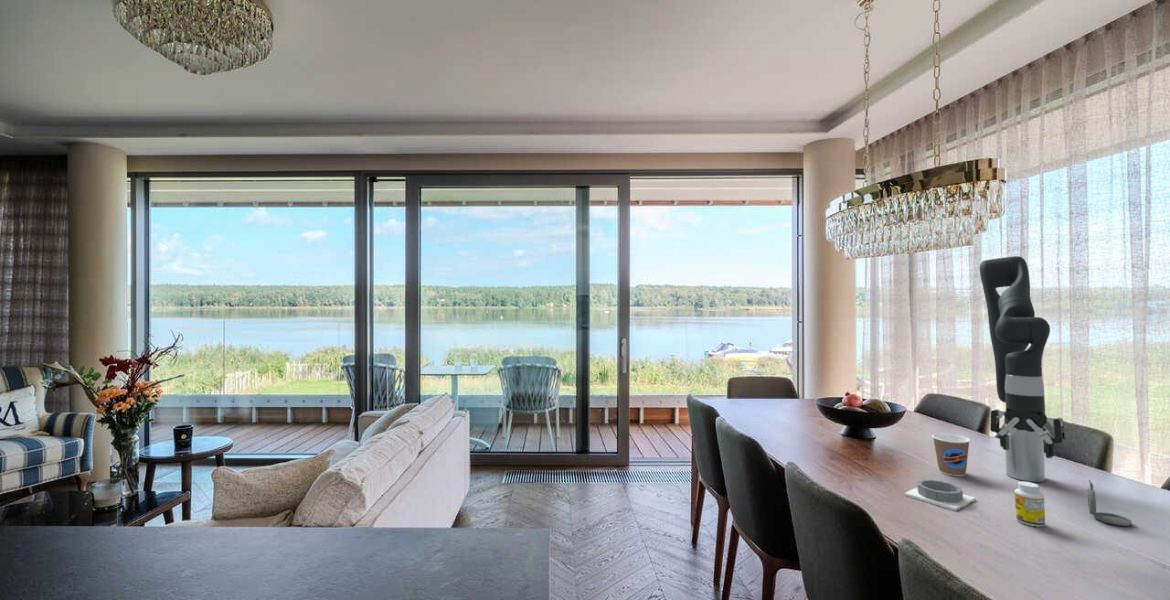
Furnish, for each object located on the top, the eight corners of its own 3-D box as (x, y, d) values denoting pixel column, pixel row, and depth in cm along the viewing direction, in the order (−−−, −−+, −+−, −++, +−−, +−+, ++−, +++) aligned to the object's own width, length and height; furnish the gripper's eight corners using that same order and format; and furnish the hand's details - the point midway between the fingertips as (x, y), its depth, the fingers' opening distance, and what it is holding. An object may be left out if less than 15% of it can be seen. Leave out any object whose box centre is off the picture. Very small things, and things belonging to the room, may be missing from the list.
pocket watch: (1140, 528, 117) (1138, 488, 117) (1100, 526, 118) (1098, 487, 119) (1110, 514, 125) (1108, 477, 125) (1073, 512, 126) (1072, 475, 127)
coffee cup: (939, 476, 155) (937, 440, 155) (929, 466, 164) (927, 432, 164) (977, 479, 151) (975, 443, 151) (964, 469, 160) (963, 434, 160)
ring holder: (925, 486, 147) (924, 475, 147) (975, 500, 135) (975, 488, 135) (904, 495, 140) (904, 483, 140) (956, 511, 129) (955, 498, 129)
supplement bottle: (1015, 516, 125) (1013, 478, 125) (1043, 522, 121) (1042, 483, 121) (1016, 523, 121) (1015, 484, 121) (1046, 530, 117) (1044, 489, 117)
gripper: (1066, 394, 117) (1069, 458, 117) (995, 387, 130) (998, 444, 129) (1057, 397, 114) (1059, 463, 113) (984, 389, 126) (987, 449, 126)
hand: (1027, 453), depth 121 cm, fingers open, 8 cm apart
